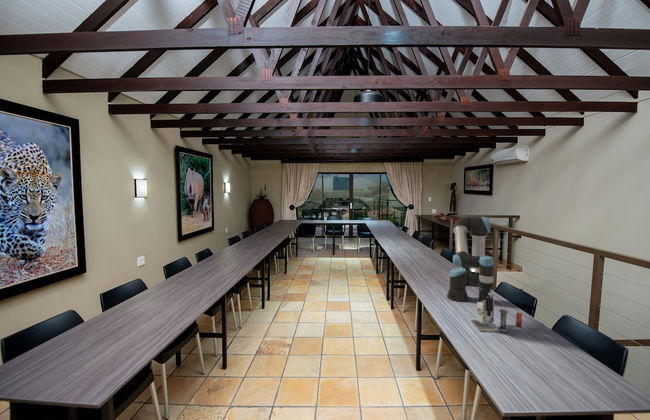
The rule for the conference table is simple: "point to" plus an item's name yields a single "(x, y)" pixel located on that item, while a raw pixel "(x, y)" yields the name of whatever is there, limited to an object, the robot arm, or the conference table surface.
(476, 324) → the press
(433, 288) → the conference table surface
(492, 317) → the ink box
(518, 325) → the lever
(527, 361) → the conference table surface
